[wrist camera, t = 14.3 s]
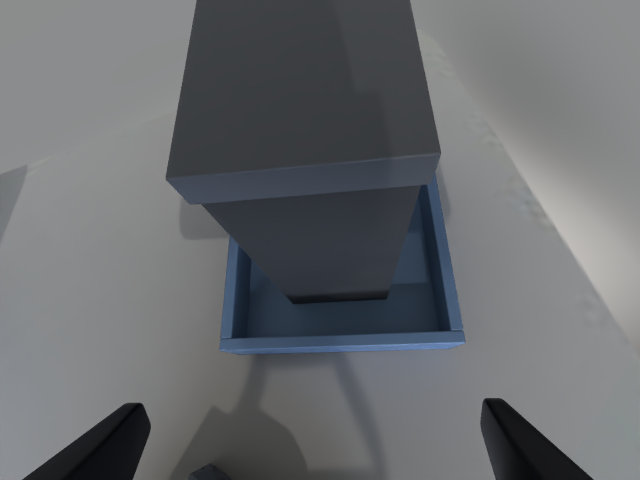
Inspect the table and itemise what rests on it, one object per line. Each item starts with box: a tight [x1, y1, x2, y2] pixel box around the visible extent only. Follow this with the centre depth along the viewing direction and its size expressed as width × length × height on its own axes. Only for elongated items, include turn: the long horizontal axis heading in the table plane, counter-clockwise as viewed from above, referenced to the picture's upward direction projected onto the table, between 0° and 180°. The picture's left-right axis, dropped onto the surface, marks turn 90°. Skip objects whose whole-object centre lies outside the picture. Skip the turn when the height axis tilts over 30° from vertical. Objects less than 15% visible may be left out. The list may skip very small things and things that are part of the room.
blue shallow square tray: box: [219, 172, 465, 355], centre depth 20 cm, size 12×12×3 cm
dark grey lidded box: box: [166, 0, 441, 304], centre depth 15 cm, size 7×6×14 cm
